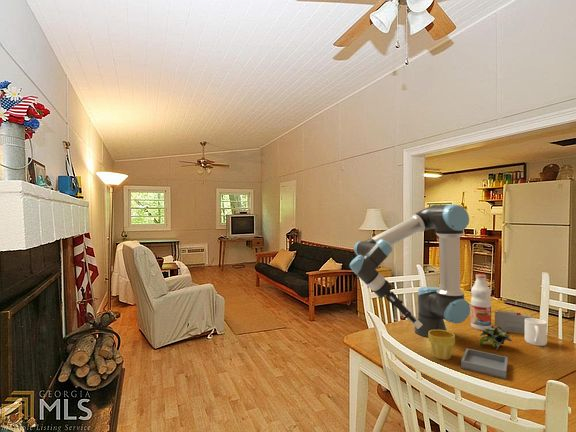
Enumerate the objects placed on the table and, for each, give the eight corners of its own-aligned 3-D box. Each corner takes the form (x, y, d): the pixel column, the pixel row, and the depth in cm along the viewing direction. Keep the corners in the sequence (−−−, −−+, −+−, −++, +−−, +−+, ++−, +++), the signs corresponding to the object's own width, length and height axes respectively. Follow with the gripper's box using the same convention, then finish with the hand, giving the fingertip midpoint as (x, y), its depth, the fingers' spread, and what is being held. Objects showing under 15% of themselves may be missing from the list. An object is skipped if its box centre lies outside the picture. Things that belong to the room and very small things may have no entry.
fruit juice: (481, 324, 178) (482, 272, 178) (495, 330, 169) (495, 276, 169) (466, 325, 177) (466, 273, 176) (479, 331, 168) (479, 277, 167)
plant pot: (424, 351, 144) (424, 329, 144) (448, 351, 144) (448, 329, 144) (434, 361, 134) (434, 338, 134) (459, 362, 134) (459, 338, 134)
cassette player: (531, 333, 165) (531, 313, 165) (532, 335, 163) (532, 315, 162) (494, 328, 172) (494, 309, 172) (495, 330, 170) (495, 311, 169)
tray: (461, 368, 128) (461, 360, 128) (466, 355, 140) (466, 348, 140) (505, 379, 120) (505, 371, 120) (507, 364, 132) (507, 356, 131)
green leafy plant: (496, 356, 151) (513, 336, 150) (500, 361, 141) (518, 340, 140) (473, 338, 156) (489, 319, 155) (475, 342, 146) (492, 321, 145)
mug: (549, 350, 144) (549, 327, 144) (526, 346, 149) (526, 324, 148) (545, 341, 154) (545, 319, 154) (523, 338, 159) (523, 316, 159)
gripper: (369, 285, 154) (401, 317, 153) (378, 299, 129) (417, 338, 128) (380, 274, 153) (413, 306, 152) (392, 285, 129) (431, 325, 127)
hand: (415, 321), depth 140 cm, fingers open, 13 cm apart
